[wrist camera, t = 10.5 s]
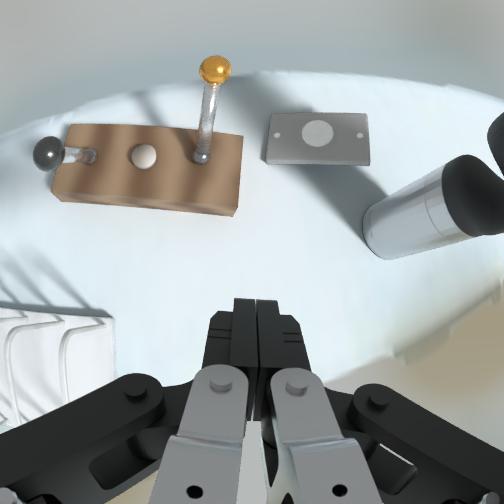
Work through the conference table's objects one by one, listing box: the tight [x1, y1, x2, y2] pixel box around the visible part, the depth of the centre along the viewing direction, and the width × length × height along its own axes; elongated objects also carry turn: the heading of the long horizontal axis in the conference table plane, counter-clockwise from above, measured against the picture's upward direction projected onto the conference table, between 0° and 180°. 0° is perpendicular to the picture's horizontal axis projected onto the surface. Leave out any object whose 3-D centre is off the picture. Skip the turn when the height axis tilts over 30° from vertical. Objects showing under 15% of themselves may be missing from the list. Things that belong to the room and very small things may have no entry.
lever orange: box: [192, 56, 232, 165], centre depth 31 cm, size 3×3×14 cm
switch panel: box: [51, 124, 243, 217], centre depth 36 cm, size 24×10×5 cm, turn 87°
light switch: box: [266, 113, 370, 166], centre depth 42 cm, size 8×6×14 cm
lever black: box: [33, 136, 98, 172], centre depth 27 cm, size 3×3×14 cm
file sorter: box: [0, 307, 117, 428], centre depth 23 cm, size 25×17×16 cm
